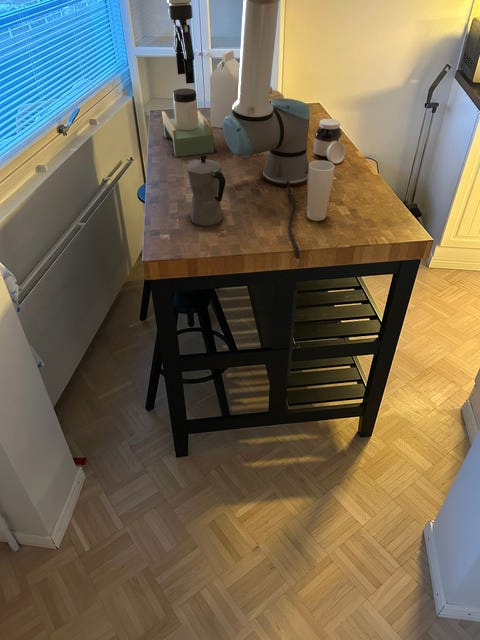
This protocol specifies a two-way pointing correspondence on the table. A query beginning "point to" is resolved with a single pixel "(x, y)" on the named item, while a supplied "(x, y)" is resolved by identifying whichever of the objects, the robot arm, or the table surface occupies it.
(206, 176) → the coffeepot
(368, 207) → the table surface
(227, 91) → the milk
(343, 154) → the spread jar
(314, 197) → the drinking glass
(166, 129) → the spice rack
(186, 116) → the jar
